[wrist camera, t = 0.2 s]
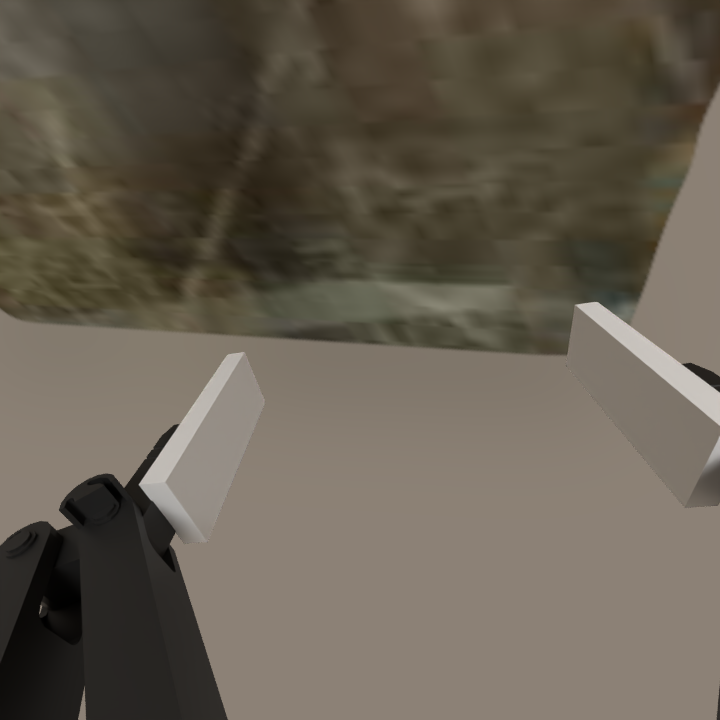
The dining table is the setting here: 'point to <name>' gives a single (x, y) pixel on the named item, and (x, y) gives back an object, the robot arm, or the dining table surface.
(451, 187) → the dining table surface
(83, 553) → the robot arm
